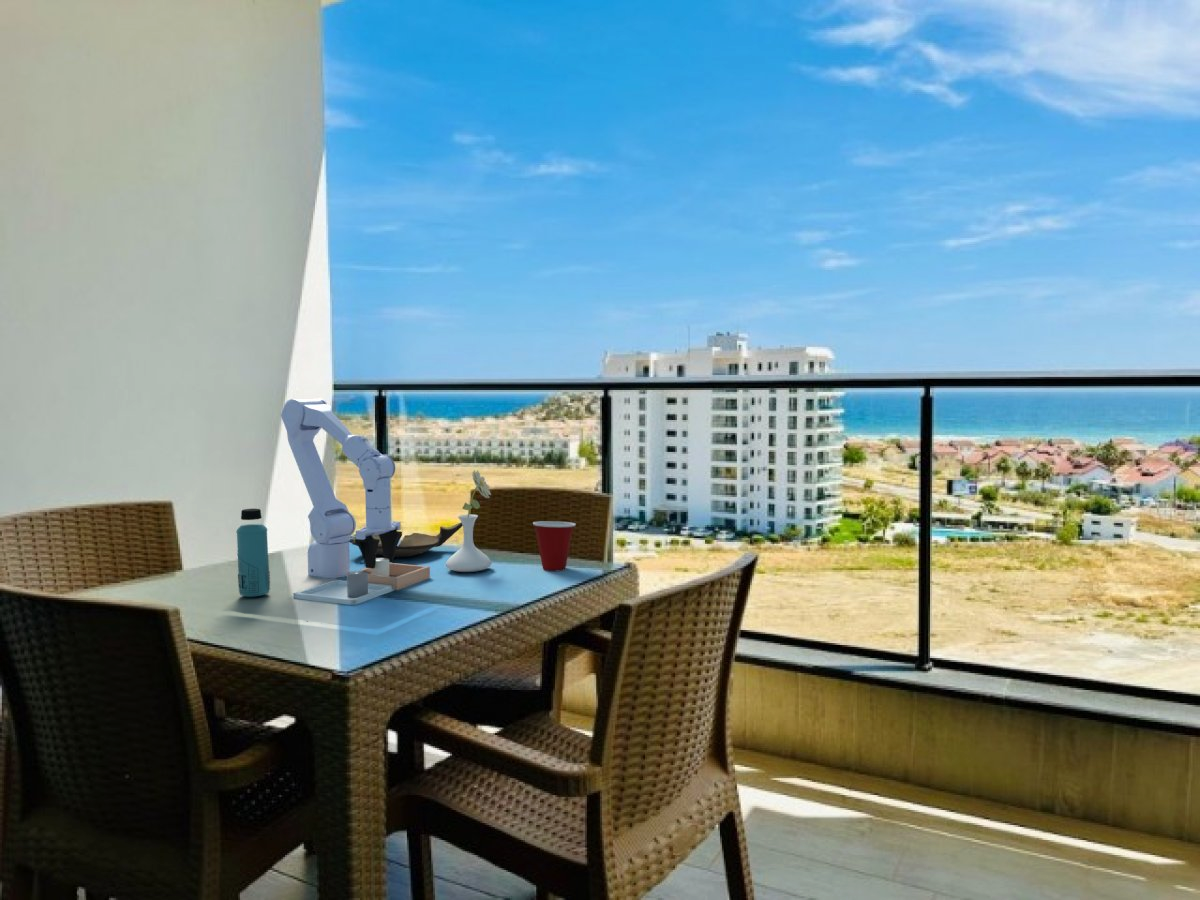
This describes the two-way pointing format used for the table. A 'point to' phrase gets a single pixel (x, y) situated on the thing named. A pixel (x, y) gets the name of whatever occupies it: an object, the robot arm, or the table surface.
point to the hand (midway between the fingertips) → (379, 564)
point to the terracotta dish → (400, 575)
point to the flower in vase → (470, 536)
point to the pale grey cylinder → (381, 567)
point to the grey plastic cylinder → (357, 583)
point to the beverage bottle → (253, 556)
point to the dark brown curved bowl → (418, 542)
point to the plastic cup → (554, 543)
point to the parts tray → (341, 593)
